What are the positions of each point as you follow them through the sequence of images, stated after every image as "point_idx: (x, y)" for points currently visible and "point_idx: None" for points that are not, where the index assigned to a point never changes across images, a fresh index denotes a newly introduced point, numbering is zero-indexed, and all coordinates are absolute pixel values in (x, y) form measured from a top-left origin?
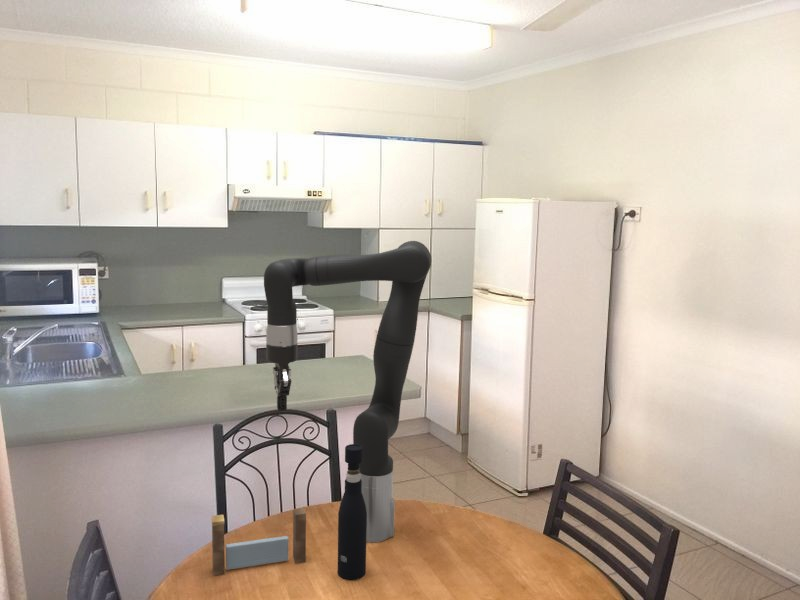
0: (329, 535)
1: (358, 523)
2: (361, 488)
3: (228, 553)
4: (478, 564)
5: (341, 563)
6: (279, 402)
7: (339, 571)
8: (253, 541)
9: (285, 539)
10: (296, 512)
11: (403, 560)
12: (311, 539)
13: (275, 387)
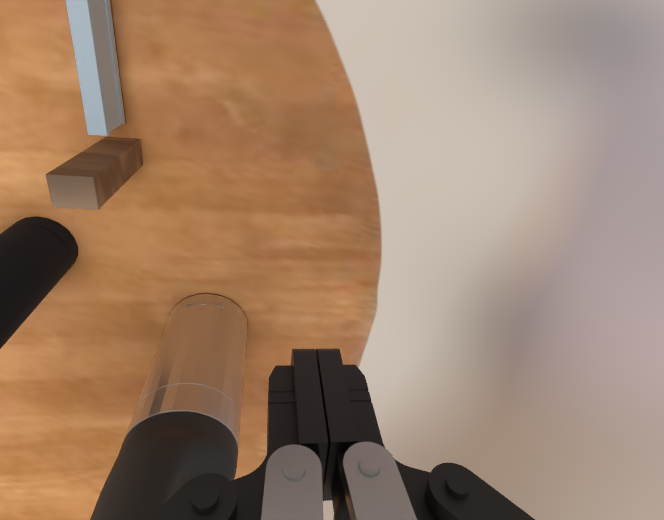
0: (227, 244)
1: None
2: None
3: None
4: (51, 444)
5: (1, 234)
6: (293, 406)
7: (21, 222)
8: (84, 22)
9: (87, 125)
10: (65, 181)
11: (84, 346)
12: (219, 202)
13: (448, 493)
